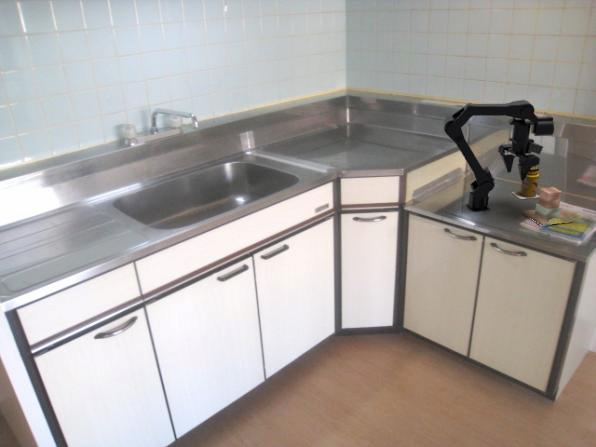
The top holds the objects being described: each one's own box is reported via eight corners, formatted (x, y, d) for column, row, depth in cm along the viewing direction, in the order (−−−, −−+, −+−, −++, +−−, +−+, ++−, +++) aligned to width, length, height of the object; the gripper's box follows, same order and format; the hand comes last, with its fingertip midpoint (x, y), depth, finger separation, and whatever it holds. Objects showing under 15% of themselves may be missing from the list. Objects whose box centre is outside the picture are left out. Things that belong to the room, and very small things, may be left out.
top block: (546, 209, 180) (548, 193, 177) (538, 203, 184) (540, 188, 182) (559, 207, 180) (561, 191, 178) (550, 202, 185) (553, 187, 182)
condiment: (540, 197, 202) (544, 169, 197) (520, 199, 201) (524, 171, 196) (530, 190, 208) (534, 163, 203) (511, 193, 208) (514, 165, 203)
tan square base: (541, 226, 178) (543, 214, 176) (522, 213, 189) (524, 201, 187) (572, 222, 180) (574, 209, 178) (551, 209, 190) (553, 197, 188)
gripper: (557, 140, 175) (550, 182, 181) (526, 127, 192) (521, 166, 198) (527, 143, 174) (521, 185, 180) (499, 130, 190) (495, 169, 197)
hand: (515, 176), depth 189 cm, fingers open, 9 cm apart
